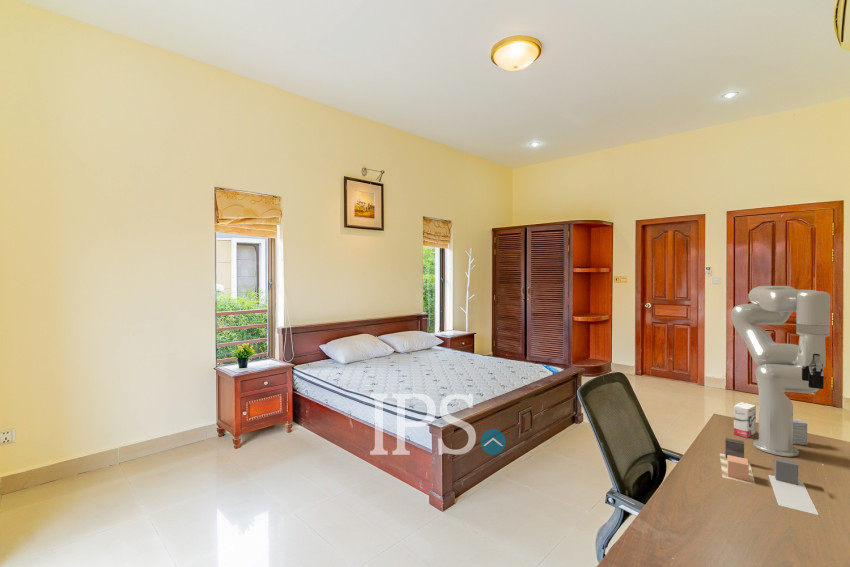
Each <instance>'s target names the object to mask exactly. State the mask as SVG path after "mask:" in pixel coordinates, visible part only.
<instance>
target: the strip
mask: <svg viewBox="0 0 850 567" xmlns="http://www.w3.org/2000/svg"><path fill="white" fill-rule="evenodd" d="M768 478H769V481H770V484H771V487H772V491H773V493H774V496H775V500H776V502H777V504H778V506H780V507H784V508H788V509H792V510H796V511H801V512H804V513H809V514H812V515H816V516H819V513H818V510H817V509H816V506H815V504H814V501H813V500H812V497H811V496H810V493H809V492H808V490H807V488H806V485H805V483H804V482H803V481H799V464H798V462H797V461H795V460H790V459H785V458H780V457H774V475H770V474H768Z"/></svg>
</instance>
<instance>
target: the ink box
mask: <svg viewBox="0 0 850 567" xmlns="http://www.w3.org/2000/svg"><path fill="white" fill-rule="evenodd" d="M756 416H757V406H756V405H754V404H750V403H747V402H742V401H741V402H738V403H736V404H735V405H734V406H733V435H735V436H739V437H743V438H746V439H748V438H750V437H752V436H754V434H756V431H757V430H756V427H757V426H756V424H757V423H756V420H757V418H756Z"/></svg>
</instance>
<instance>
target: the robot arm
mask: <svg viewBox="0 0 850 567" xmlns="http://www.w3.org/2000/svg"><path fill="white" fill-rule="evenodd" d="M748 300H749V302H751V303H743V304H742V303H741V304H739V305H738V304H737V305H736V306H734V307H733V308H732V310H731V313H730V316H731V317H730V318H731V323H732V325H733V327H734V329H735V331H736V332H737V333H738V335H739V336H740V337H741V339H742V340H743V341H744V344H745V345H746V347H747V348H746V349H747V350H748V352H749V354H750V356H751V359H752V361H753V362H754V363H755V364H756V366H758V367H757V368H756V370H755V380H756V384H757V390H758V439H754V440H753V441H752V442H753V443H752V444H753V446H754V448H756V449H758V450H759V451H762V452H765V453H769V454H771V455H775V456H781V457H792V458H793V457H797V456H799V453H800V451H799V449H798V448H796V447H795V446H794V444H793V419H794V404H793V402H792V400H791V399H790V398H789V397H788V396H787V394H786V393H785V392H787V393H789V392H791V393H803V394H804V393H806V394H809V393H810V394H812V393H816V392H818V391H819V390H824V381H825V379H824V378H825V377H824V368H825V367H826V358H827V357H826V351H827V350H826V337H831V294H830V293H829V292H827V291H821V290H819V291H818V290H815V289H796V288H795V287H793V286H790V285H758V286H756V287H754V288H752V289H751V290H750V291H749V293H748ZM792 313H796V322H795V323H796V324H795V326H796V331H795V333H796V335H799V337H798V338H799V339H798V344H794V343H782V342H781V343H780V342H775V341H774V340H773V338H772V337H771V335H770V334H769V332H768V331H766V329H764V328H762V327H760V326H758V325H769V326H771V325H772V326H778V325H779V326H780V325H783V324H785V323H786V322H787V321H788V320H789V318H790V316H791V315H792Z"/></svg>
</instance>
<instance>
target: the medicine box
mask: <svg viewBox="0 0 850 567" xmlns="http://www.w3.org/2000/svg"><path fill="white" fill-rule="evenodd" d="M793 445H799V446H800V445H801V446H807V445H808V423H807V422H805V421H804V420H802V419H800V418H793Z"/></svg>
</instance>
